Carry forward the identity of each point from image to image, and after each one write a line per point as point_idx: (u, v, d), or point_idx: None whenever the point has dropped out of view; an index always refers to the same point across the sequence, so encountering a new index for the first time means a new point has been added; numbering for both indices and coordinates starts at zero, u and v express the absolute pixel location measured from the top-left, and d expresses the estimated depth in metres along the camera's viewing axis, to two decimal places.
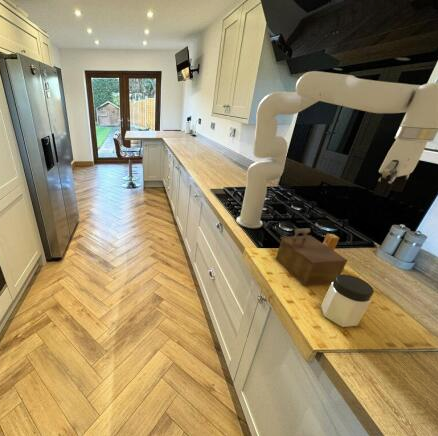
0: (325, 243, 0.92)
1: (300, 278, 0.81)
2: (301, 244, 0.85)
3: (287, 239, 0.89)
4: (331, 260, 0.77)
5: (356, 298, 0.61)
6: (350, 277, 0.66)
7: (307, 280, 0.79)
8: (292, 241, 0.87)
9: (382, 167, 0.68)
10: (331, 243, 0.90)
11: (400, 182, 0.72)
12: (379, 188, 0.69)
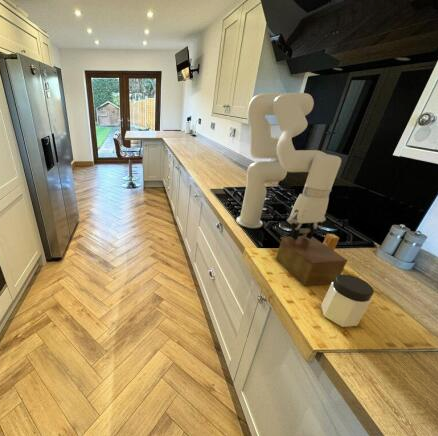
0: (325, 243, 0.92)
1: (300, 278, 0.81)
2: (301, 244, 0.85)
3: (287, 239, 0.89)
4: (331, 260, 0.77)
5: (356, 298, 0.61)
6: (350, 277, 0.66)
7: (307, 280, 0.79)
8: (292, 241, 0.87)
9: (291, 214, 0.86)
10: (331, 243, 0.90)
11: None
12: (291, 232, 0.88)
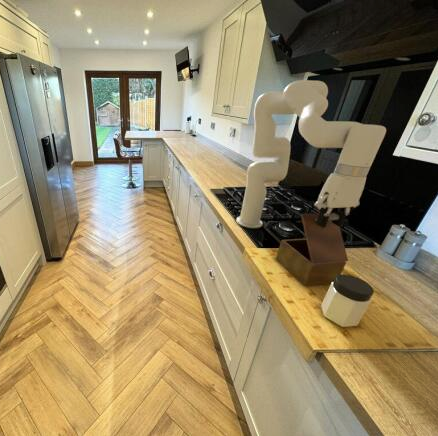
0: None
1: (300, 278, 0.81)
2: (316, 231, 0.78)
3: (308, 219, 0.79)
4: (333, 261, 0.76)
5: (356, 298, 0.61)
6: (350, 277, 0.66)
7: (307, 280, 0.79)
8: (310, 224, 0.78)
9: (319, 197, 0.74)
10: None
11: (340, 217, 0.75)
12: (318, 219, 0.75)
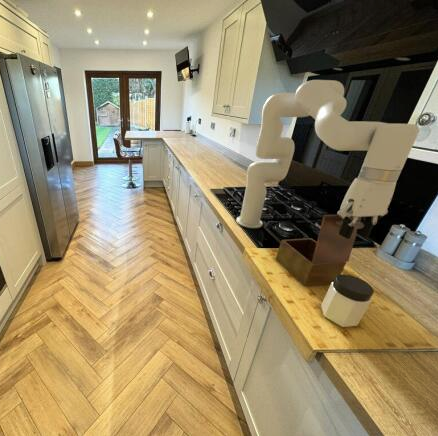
0: None
1: (300, 278, 0.81)
2: (332, 234, 0.72)
3: (328, 221, 0.71)
4: (333, 262, 0.76)
5: (356, 298, 0.61)
6: (350, 277, 0.66)
7: (307, 280, 0.79)
8: (328, 227, 0.72)
9: (342, 205, 0.66)
10: None
11: (366, 227, 0.67)
12: (342, 229, 0.68)
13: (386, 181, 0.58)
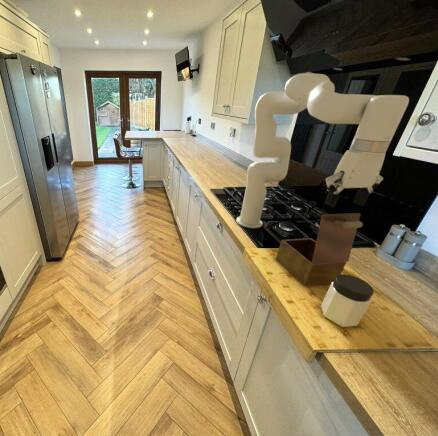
0: None
1: (300, 278, 0.81)
2: (331, 233, 0.73)
3: (327, 221, 0.71)
4: (333, 262, 0.76)
5: (356, 298, 0.61)
6: (350, 277, 0.66)
7: (307, 280, 0.79)
8: (327, 226, 0.72)
9: None
10: None
11: (362, 195, 0.70)
12: (328, 198, 0.70)
13: (375, 152, 0.61)
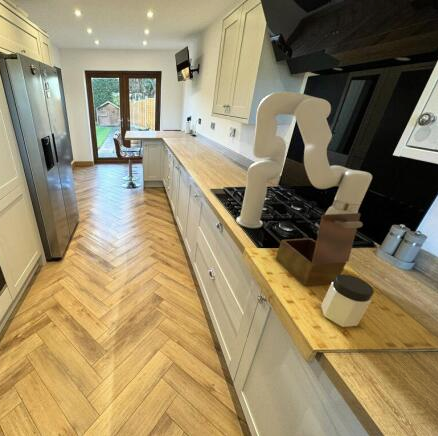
0: None
1: (300, 278, 0.81)
2: (331, 233, 0.73)
3: (327, 221, 0.71)
4: (333, 262, 0.76)
5: (356, 298, 0.61)
6: (350, 277, 0.66)
7: (307, 280, 0.79)
8: (327, 226, 0.72)
9: None
10: None
11: None
12: None
13: (350, 211, 0.82)
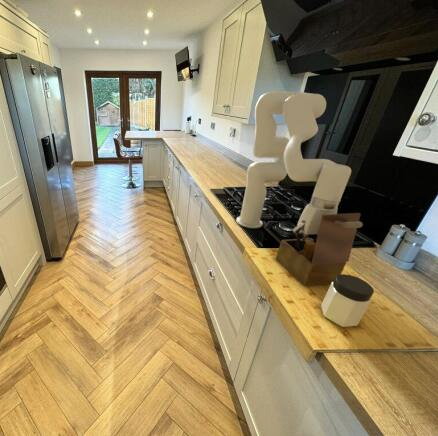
0: (302, 250, 0.86)
1: (300, 278, 0.81)
2: (331, 233, 0.73)
3: (327, 221, 0.71)
4: (333, 262, 0.76)
5: (356, 298, 0.61)
6: (350, 277, 0.66)
7: (307, 280, 0.79)
8: (327, 226, 0.72)
9: (297, 224, 0.83)
10: (308, 249, 0.84)
11: None
12: (297, 243, 0.84)
13: (328, 209, 0.75)
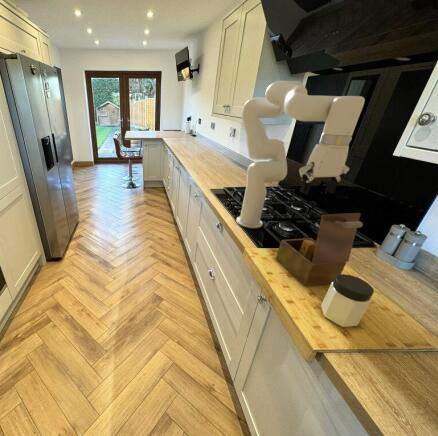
0: (302, 250, 0.86)
1: (300, 278, 0.81)
2: (331, 233, 0.73)
3: (327, 221, 0.71)
4: (333, 262, 0.76)
5: (356, 298, 0.61)
6: (350, 277, 0.66)
7: (307, 280, 0.79)
8: (327, 226, 0.72)
9: None
10: (308, 250, 0.84)
11: (332, 184, 0.79)
12: (302, 186, 0.79)
13: (339, 145, 0.70)
